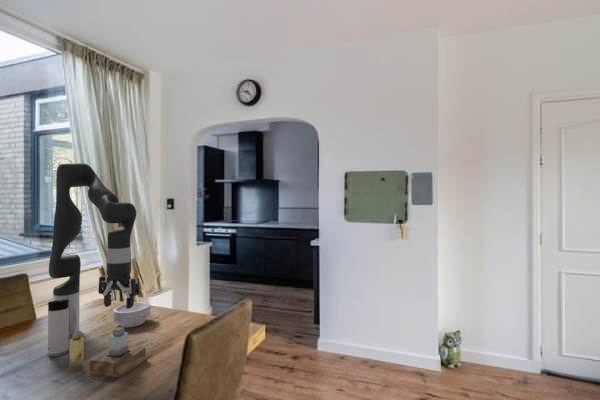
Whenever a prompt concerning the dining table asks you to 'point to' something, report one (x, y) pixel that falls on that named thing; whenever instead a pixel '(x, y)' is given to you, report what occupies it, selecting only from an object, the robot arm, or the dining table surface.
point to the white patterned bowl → (131, 314)
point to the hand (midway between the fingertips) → (118, 307)
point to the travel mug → (58, 327)
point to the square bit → (118, 343)
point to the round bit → (76, 352)
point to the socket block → (117, 362)
